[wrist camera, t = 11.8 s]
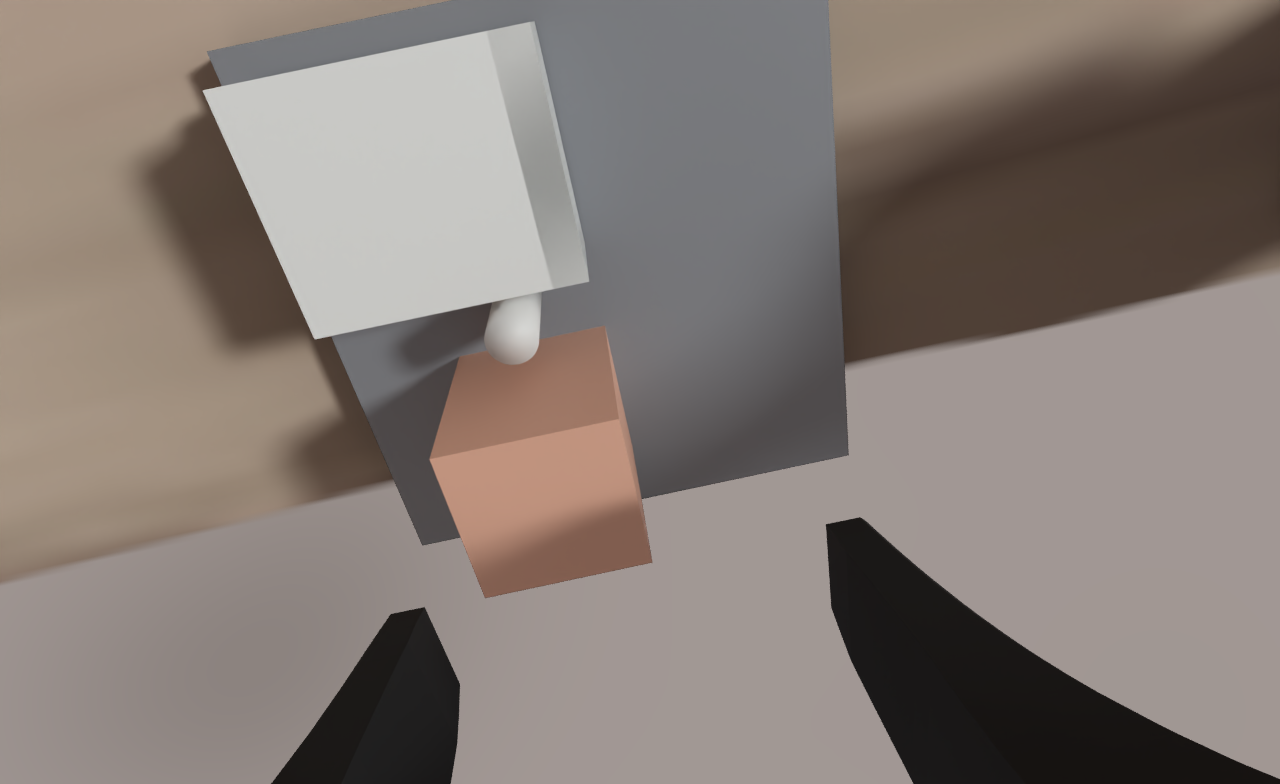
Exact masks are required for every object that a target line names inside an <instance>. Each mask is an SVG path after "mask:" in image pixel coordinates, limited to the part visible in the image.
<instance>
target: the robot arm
mask: <svg viewBox="0 0 1280 784" xmlns="http://www.w3.org/2000/svg"><path fill="white" fill-rule="evenodd" d="M826 530H827V546H828V561H829V577H830V593H831V607H832V610H833V613H834V616H835V619H836V621H837V624H838V627H839V630H840V632H841V635H842V638H843V640H844V643H845V645H846V648H847V651H848V654H849V656H850V659H851V661H852V663H853V665H854V667H855V669H856V671H857V673H858V676H859V677H860V679H861V681H862V683H863V685H864V687H865V689H866V691H867V693H868V695H869V697H870V699H871V701H872V703H873V705H874V707H875V709H876V711H877V713H878V715H879V717H880V719H881V721H882V723H883V725H884V727H885V728H886V731H887V732H888V735H889V737H890V739H891V741H892V742H893V744H894V746H895V748H896V750H897V752H898V754H899V756H900V758H901V760H902V762H903V764H904V766H905V768H906V770H907V772H908V774H909V776H910V778H911V780H912V782H913V784H1280V779H1278V778H1276V777H1273V776H1271V775H1268V774H1266V773H1263V772H1261V771H1259V770H1256V769H1253V768H1251V767H1249V766H1246V765H1244V764H1242V763H1239V762H1237V761H1235V760H1233V759H1230V758H1228V757H1226V756H1224V755H1222V754H1220V753H1217V752H1215V751H1213V750H1211V749H1209V748H1207V747H1205V746H1203V745H1200V744H1198V743H1196V742H1194V741H1192V740H1190V739H1187V738H1185V737H1183V736H1181V735H1179V734H1177V733H1175V732H1173V731H1171V730H1169V729H1167V728H1165V727H1163V726H1161V725H1159V724H1157V723H1155V722H1153V721H1151V720H1149V719H1147V718H1146V717H1144V716H1142V715H1140V714H1138V713H1136V712H1134V711H1132V710H1130V709H1129V708H1127V707H1124V706H1123V705H1121V704H1119V703H1117V702H1115V701H1113V700H1111V699H1110V698H1108V697H1106V696H1104V695H1102V694H1100V693H1098V692H1096V691H1095V690H1093V689H1091V688H1090V687H1088V686H1086V685H1084V684H1083V683H1081V682H1079V681H1078V680H1076V679H1074V678H1072V677H1071V676H1069V675H1067V674H1066V673H1064V672H1062V671H1061V670H1059V669H1058V668H1056V667H1054V666H1053V665H1051V664H1050V663H1048V662H1046V661H1044V660H1043V659H1041V658H1040V657H1038V656H1037V655H1035V654H1034V653H1032V652H1031V651H1029V650H1028V649H1026V648H1025V647H1023V646H1022V645H1020V644H1019V643H1017V642H1016V641H1014V640H1013V639H1011V638H1010V637H1008V636H1007V635H1006V634H1004V633H1003V632H1001V631H1000V630H998V629H997V628H996V627H994V626H993V625H991V624H990V623H989V622H987V621H986V620H984V619H983V618H982V617H980V616H979V615H978V614H976V613H975V612H974V611H972V610H971V609H970V608H968V607H967V606H966V605H964V604H963V603H962V602H960V601H959V600H958V599H957V598H955V597H954V596H953V595H952V594H950V593H949V592H948V591H946V590H945V589H944V588H943V587H942V586H940V585H939V584H938V583H937V582H935V581H934V580H933V579H931V578H930V577H929V576H928V575H927V574H925V573H924V572H923V571H922V570H920V569H919V568H918V567H917V566H916V565H915V564H913V563H912V562H911V561H910V560H909V559H908V558H906V557H905V556H904V555H903V554H902V553H901V552H900V551H898V550H897V549H896V548H895V547H894V546H893V545H892V544H891V543H889V542H888V541H887V540H886V539H885V538H884V537H883V536H882V535H881V534H879V533H878V532H877V531H876V530H875V529H874V528H873V527H872V526H871V525H870V524H869V523H867V522H866V521H865V520H863V519H862V518H855V519H850V520H846V521H840V522H836V523H831V524H826ZM459 694H460V683H459V681H458V679H457V677H456V675H455V672H454V670H453V668H452V666H451V664H450V662H449V659H448V657H447V655H446V653H445V651H444V649H443V646H442V644H441V642H440V640H439V638H438V635H437V633H436V631H435V629H434V627H433V624H432V623H431V620H430V618H429V616H428V614H427V612H426V609H425V608H418V609H414V610H409V611H404V612H399V613H394V614H391V615H390V616H389V618H388V619H387V621H386V622H385V623H384V625H383V626H382V628H381V629H380V631H379V632H378V634H377V635H376V636H375V638H374V639H373V641H372V642H371V644H370V646H369V647H368V648H367V650H366V651H365V653H364V654H363V656H362V657H361V659H360V661H359V662H358V664H357V665H356V666H355V668H354V670H353V671H352V672H351V674H350V675H349V677H348V678H347V680H346V682H345V683H344V684H343V686H342V687H341V689H340V691H339V692H338V693H337V695H336V696H335V698H334V699H333V700H332V702H331V703H330V705H329V706H328V708H327V709H326V710H325V712H324V713H323V715H322V716H321V717H320V719H319V720H318V722H317V723H316V725H315V726H314V728H313V729H312V730H311V732H310V733H309V735H308V736H307V737H306V738H305V740H304V741H303V742H302V744H301V745H300V746H299V748H298V749H297V750H296V752H295V753H294V754H293V756H292V757H291V758H290V760H289V761H288V762H287V764H286V765H285V767H284V768H283V769H282V770H281V772H280V773H279V775H278V776H277V777H276V779H275V780H274V781H273V783H271V784H450V783H451V778H452V772H453V766H454V759H455V754H456V747H457V737H458V721H459Z"/></svg>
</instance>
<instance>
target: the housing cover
mask: <svg viewBox="0 0 1280 784" xmlns="http://www.w3.org/2000/svg"><path fill="white" fill-rule="evenodd" d="M203 93H204V95H205V97H206V99H207V102H208V104H209V106H210V108H211V110H212V113H213V115H214V117H215V119H216V122H217V124H218V126H219V128H220V130H221V133H222V135H223V137H224V139H225V142H226V144H227V146H228V148H229V150H230V153H231V155H232V157H233V159H234V162H235V164H236V166H237V168H238V170H239V173H240V175H241V177H242V179H243V182H244V184H245V186H246V188H247V190H248V193H249V195H250V197H251V199H252V202H253V204H254V206H255V208H256V210H257V213H258V215H259V217H260V219H261V222H262V224H263V226H264V228H265V230H266V233H267V235H268V237H269V239H270V241H271V244H272V246H273V248H274V250H275V253H276V255H277V257H278V259H279V261H280V264H281V266H282V268H283V270H284V273H285V275H286V277H287V279H288V281H289V284H290V286H291V288H292V290H293V293H294V295H295V297H296V299H297V301H298V304H299V306H300V308H301V310H302V313H303V315H304V317H305V319H306V321H307V324H308V326H309V328H310V330H311V333H312V335H313V337H314V339H319V338H324V337H329V336H334V335H338V334H343V333H348V332H353V331H357V330H362V329H367V328H372V327H376V326H381V325H386V324H391V323H395V322H400V321H405V320H409V319H414V318H419V317H424V316H428V315H433V314H438V313H443V312H447V311H452V310H457V309H462V308H466V307H471V306H476V305H481V304H485V303H490V302H495V301H500V300H504V299H509V298H514V297H519V296H523V295H528V294H533V293H538V292H542V291H547V290H552V289H557V288H561V287H566V286H571V285H576V284H580V283H585V282H589V276H588V267H587V259H586V250H585V242H584V237H583V233H582V229H581V224H580V220H579V215H578V211H577V207H576V202H575V198H574V193H573V189H572V184H571V180H570V176H569V171H568V167H567V162H566V158H565V154H564V149H563V145H562V140H561V136H560V131H559V127H558V123H557V118H556V114H555V109H554V105H553V100H552V96H551V92H550V87H549V83H548V78H547V74H546V70H545V65H544V61H543V56H542V52H541V47H540V43H539V39H538V34H537V30H536V25H535V21H533V22H527V23H522V24H517V25H512V26H508V27H503V28H498V29H493V30H489V31H484V32H479V33H474V34H469V35H465V36H460V37H455V38H450V39H446V40H441V41H436V42H431V43H426V44H422V45H417V46H412V47H407V48H403V49H398V50H393V51H388V52H383V53H379V54H374V55H369V56H364V57H359V58H355V59H350V60H345V61H340V62H336V63H331V64H326V65H321V66H316V67H312V68H307V69H302V70H297V71H293V72H288V73H283V74H278V75H273V76H269V77H264V78H259V79H254V80H250V81H245V82H240V83H235V84H230V85H226V86H221V87H216V88H211V89H206V90H203Z"/></svg>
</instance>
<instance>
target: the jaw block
mask: <svg viewBox="0 0 1280 784" xmlns="http://www.w3.org/2000/svg"><path fill="white" fill-rule="evenodd" d="M430 462H431V464H432V467H433V469H434V472H435V474H436V477H437V479H438V482H439V484H440V487H441V489H442V492H443V494H444V497H445V499H446V502H447V504H448V507H449V509H450V512H451V514H452V517H453V519H454V522H455V524H456V527H457V529H458V532H459V534H460V537H461V539H462V542H463V544H464V547H465V549H466V552H467V554H468V556H469V559H470V562H471V564H472V567H473V569H474V572H475V574H476V577H477V579H478V582H479V584H480V587H481V589H482V592H483V594H484V596H485V598H488V597H493V596H498V595H502V594H507V593H511V592H516V591H521V590H526V589H530V588H535V587H540V586H545V585H549V584H554V583H559V582H563V581H568V580H572V579H577V578H582V577H586V576H591V575H596V574H601V573H605V572H610V571H615V570H619V569H624V568H629V567H633V566H638V565H643V564H648V563H652V558H651V551H650V546H649V540H648V534H647V529H646V523H645V517H644V511H643V505H642V499H641V493H640V488H639V482H638V476H637V470H636V464H635V459H634V453H633V447H632V443H631V438H630V434H629V430H628V425H627V421H626V416H625V412H624V408H623V403H622V399H621V394H620V390H619V386H618V381H617V377H616V372H615V368H614V364H613V359H612V355H611V350H610V346H609V342H608V337H607V333H606V328H605V326H601V327H596V328H591V329H586V330H582V331H577V332H572V333H568V334H563V335H558V336H554V337H549V338H544V339H539V346H538V349H537V351H536V353H535V354H534V356H533V357H532V358H531V359H529V360H528V361H526V362H524V363H522V364H517V365H508V364H504V363H501V362H499V361H497V360H495V359H494V358H493V357H492V356H491V355H490V354H489V353H488V351H483V352H478V353H474V354H469V355H464V356H459V360H458V363H457V367H456V370H455V374H454V377H453V380H452V384H451V387H450V391H449V394H448V397H447V401H446V404H445V408H444V411H443V415H442V418H441V421H440V425H439V428H438V432H437V435H436V439H435V442H434V445H433V449H432V452H431V456H430Z"/></svg>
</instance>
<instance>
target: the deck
mask: <svg viewBox="0 0 1280 784" xmlns="http://www.w3.org/2000/svg"><path fill="white" fill-rule="evenodd" d="M533 21H535V25H536V30H537V34H538V39H539V43H540V47H541V52H542V56H543V61H544V65H545V70H546V74H547V78H548V83H549V87H550V92H551V96H552V100H553V105H554V109H555V114H556V118H557V123H558V127H559V131H560V136H561V140H562V145H563V149H564V154H565V158H566V162H567V167H568V171H569V176H570V180H571V184H572V189H573V193H574V198H575V202H576V207H577V211H578V215H579V220H580V224H581V229H582V233H583V237H584V242H585V250H586V259H587V267H588V276H589V282H585V283H580V284H576V285H571V286H566V287H561V288H557V289H552V290H547V291H542V292H538V293H533V294H528V295H523V296H519V297H514V298H509V299H504V300H500V301H495V302H490V303H485V304H481V305H476V306H471V307H466V308H462V309H457V310H452V311H447V312H443V313H438V314H433V315H428V316H424V317H419V318H414V319H409V320H405V321H400V322H395V323H391V324H386V325H381V326H376V327H372V328H367V329H362V330H357V331H353V332H348V333H343V334H338V335H334V336H331V337H332V340H333V342H334V344H335V346H336V349H337V351H338V353H339V356H340V358H341V360H342V362H343V365H344V367H345V369H346V372H347V374H348V376H349V378H350V381H351V383H352V385H353V388H354V390H355V392H356V395H357V397H358V399H359V401H360V404H361V406H362V408H363V411H364V413H365V415H366V417H367V420H368V422H369V424H370V427H371V429H372V431H373V433H374V436H375V438H376V440H377V443H378V445H379V447H380V450H381V452H382V454H383V456H384V459H385V461H386V463H387V466H388V468H389V470H390V472H391V475H392V477H393V479H394V482H395V484H396V486H397V488H398V490H399V493H400V495H401V498H402V500H403V502H404V504H405V507H406V509H407V511H408V514H409V516H410V518H411V520H412V522H413V525H414V527H415V529H416V532H417V534H418V537H419V539H420V541H421V543H422V545H427V544H432V543H436V542H441V541H446V540H451V539H455V538H460V534H459V532H458V529H457V527H456V524H455V522H454V519H453V517H452V514H451V512H450V509H449V507H448V504H447V502H446V499H445V497H444V494H443V492H442V489H441V487H440V484H439V482H438V479H437V477H436V474H435V472H434V469H433V467H432V464H431V462H430V456H431V452H432V449H433V445H434V442H435V439H436V435H437V432H438V428H439V425H440V421H441V418H442V415H443V411H444V408H445V404H446V401H447V397H448V394H449V391H450V387H451V384H452V380H453V377H454V374H455V370H456V367H457V363H458V360H459V356H464V355H469V354H474V353H478V352H483V351H488V353H489V354H490V355H491V356H492V357H493V358H494V359H495V360H497V361H499V362H501V363H504V364H508V365H517V364H522V363H524V362H526V361H528V360H529V359H531V358H532V357H533V356H534V354H535V353H536V351H537V349H538V346H539V339H544V338H549V337H554V336H558V335H563V334H568V333H572V332H577V331H582V330H586V329H591V328H596V327H601V326H605V328H606V333H607V337H608V342H609V346H610V350H611V355H612V359H613V364H614V368H615V372H616V377H617V381H618V386H619V390H620V394H621V399H622V403H623V408H624V412H625V416H626V421H627V425H628V430H629V434H630V438H631V443H632V447H633V453H634V459H635V464H636V470H637V476H638V482H639V488H640V493H641V499H644V498H649V497H653V496H658V495H663V494H668V493H672V492H677V491H682V490H686V489H691V488H696V487H701V486H706V485H710V484H715V483H720V482H724V481H729V480H734V479H739V478H743V477H748V476H753V475H757V474H762V473H767V472H771V471H776V470H781V469H786V468H790V467H795V466H800V465H805V464H809V463H814V462H819V461H824V460H828V459H833V458H837V457H842V456H847V455H849V454H848V432H847V410H846V388H845V365H844V343H843V320H842V298H841V276H840V253H839V231H838V209H837V187H836V164H835V142H834V120H833V97H832V75H831V53H830V30H829V8H828V0H451V1H446V2H442V3H437V4H432V5H427V6H423V7H418V8H413V9H408V10H403V11H399V12H394V13H389V14H384V15H379V16H375V17H370V18H365V19H360V20H356V21H351V22H346V23H341V24H336V25H332V26H327V27H322V28H317V29H312V30H308V31H303V32H298V33H293V34H289V35H284V36H279V37H274V38H269V39H265V40H260V41H255V42H250V43H245V44H241V45H236V46H231V47H226V48H222V49H217V50H212V51H207V53H208V55H209V58H210V60H211V62H212V65H213V67H214V69H215V72H216V74H217V76H218V78H219V81H220V83H221V85H222V86H226V85H230V84H235V83H240V82H245V81H250V80H254V79H259V78H264V77H269V76H273V75H278V74H283V73H288V72H293V71H297V70H302V69H307V68H312V67H316V66H321V65H326V64H331V63H336V62H340V61H345V60H350V59H355V58H359V57H364V56H369V55H374V54H379V53H383V52H388V51H393V50H398V49H403V48H407V47H412V46H417V45H422V44H426V43H431V42H436V41H441V40H446V39H450V38H455V37H460V36H465V35H469V34H474V33H479V32H484V31H489V30H493V29H498V28H503V27H508V26H512V25H517V24H522V23H527V22H533ZM582 578H583V577H582Z"/></svg>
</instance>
